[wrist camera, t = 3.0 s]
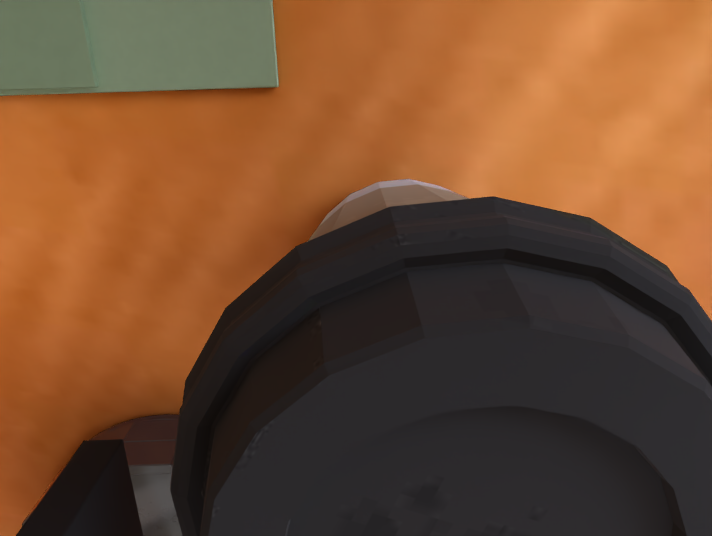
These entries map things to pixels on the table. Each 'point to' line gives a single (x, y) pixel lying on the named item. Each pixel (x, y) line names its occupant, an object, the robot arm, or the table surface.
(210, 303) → the table surface
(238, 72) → the cloth
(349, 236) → the coffee cup
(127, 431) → the pan
